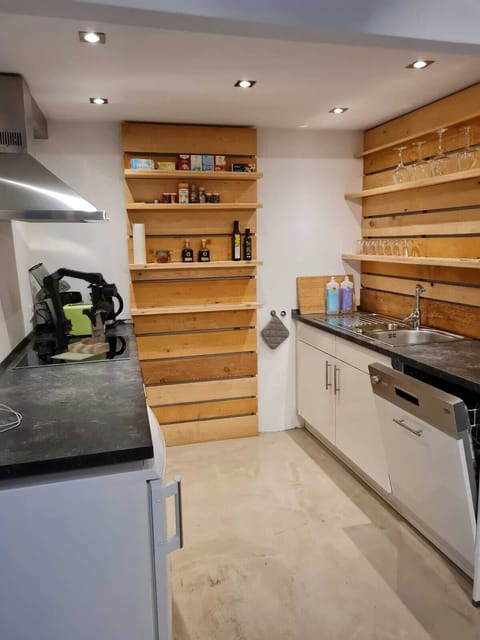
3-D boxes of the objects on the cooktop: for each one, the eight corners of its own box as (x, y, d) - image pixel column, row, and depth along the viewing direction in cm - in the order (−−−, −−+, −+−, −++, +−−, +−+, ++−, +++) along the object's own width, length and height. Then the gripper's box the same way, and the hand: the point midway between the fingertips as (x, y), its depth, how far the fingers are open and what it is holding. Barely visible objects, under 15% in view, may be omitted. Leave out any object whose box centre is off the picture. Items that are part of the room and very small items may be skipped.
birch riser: (68, 352, 249) (68, 345, 248) (82, 348, 258) (81, 341, 257) (96, 354, 242) (95, 347, 241) (109, 350, 251) (108, 343, 250)
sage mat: (51, 357, 238) (51, 357, 238) (67, 353, 248) (67, 352, 248) (79, 360, 231) (79, 359, 231) (95, 355, 241) (94, 354, 241)
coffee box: (105, 341, 275) (103, 313, 273) (94, 342, 273) (91, 314, 270) (102, 338, 284) (100, 311, 281) (91, 340, 281) (89, 312, 279)
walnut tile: (81, 344, 250) (81, 339, 249) (88, 342, 254) (88, 337, 254) (92, 344, 247) (92, 340, 246) (99, 342, 251) (98, 338, 251)
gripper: (97, 299, 242) (99, 329, 245) (121, 295, 259) (122, 323, 261) (80, 298, 247) (82, 328, 249) (104, 294, 263) (106, 322, 266)
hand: (99, 325), depth 256 cm, fingers open, 6 cm apart
